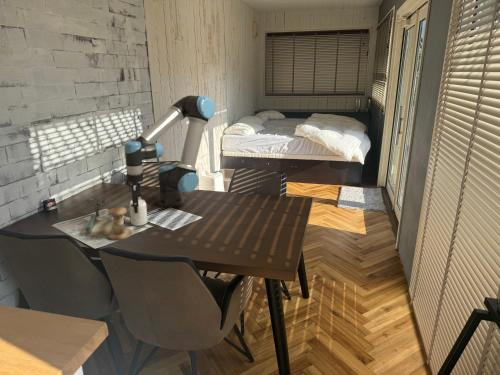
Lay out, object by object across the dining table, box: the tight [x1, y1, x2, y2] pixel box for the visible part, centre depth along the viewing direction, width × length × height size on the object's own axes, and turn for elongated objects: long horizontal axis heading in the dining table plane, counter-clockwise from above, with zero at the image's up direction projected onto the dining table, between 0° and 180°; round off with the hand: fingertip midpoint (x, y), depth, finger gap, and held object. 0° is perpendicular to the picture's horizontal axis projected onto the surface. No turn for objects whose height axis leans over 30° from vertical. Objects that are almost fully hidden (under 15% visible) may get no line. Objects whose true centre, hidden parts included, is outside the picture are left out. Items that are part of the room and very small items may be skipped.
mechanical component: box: [85, 197, 106, 218], centre depth 185 cm, size 3×10×10 cm, turn 79°
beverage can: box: [128, 198, 149, 227], centre depth 176 cm, size 8×8×12 cm
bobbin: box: [107, 206, 132, 241], centre depth 162 cm, size 10×10×13 cm
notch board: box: [84, 214, 125, 237], centre depth 172 cm, size 16×16×4 cm
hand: (137, 213), depth 176 cm, fingers open, 13 cm apart
